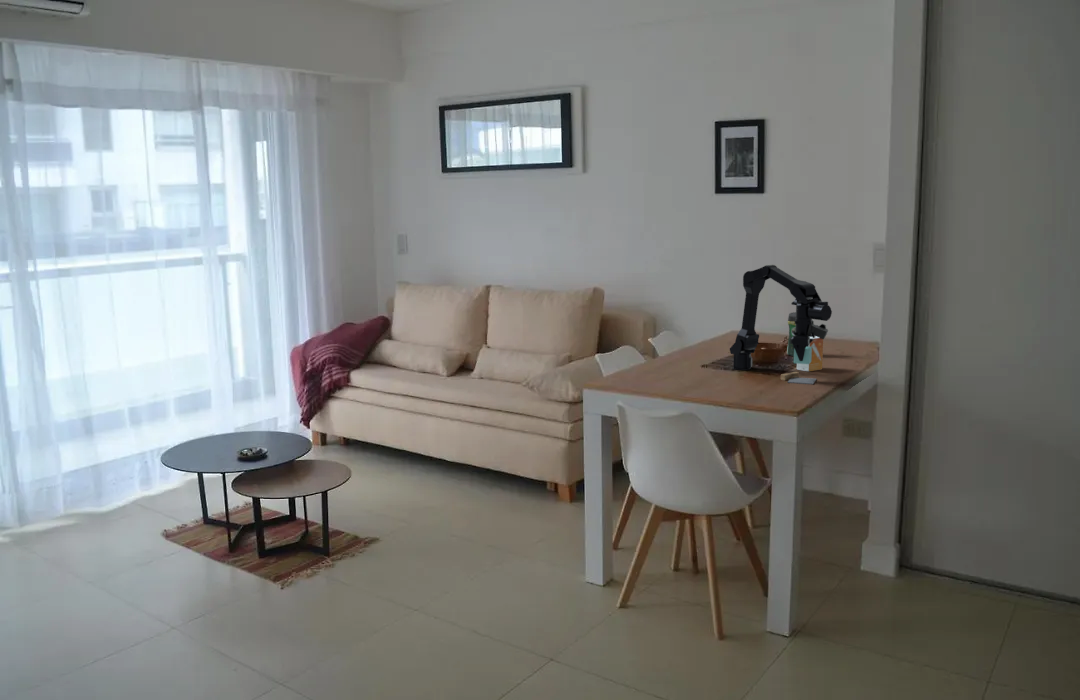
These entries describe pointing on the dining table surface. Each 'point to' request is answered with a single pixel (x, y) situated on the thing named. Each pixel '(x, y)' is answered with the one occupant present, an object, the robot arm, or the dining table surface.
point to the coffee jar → (791, 332)
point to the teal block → (806, 356)
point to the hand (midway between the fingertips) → (802, 359)
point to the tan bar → (789, 375)
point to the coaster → (802, 380)
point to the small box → (814, 356)
